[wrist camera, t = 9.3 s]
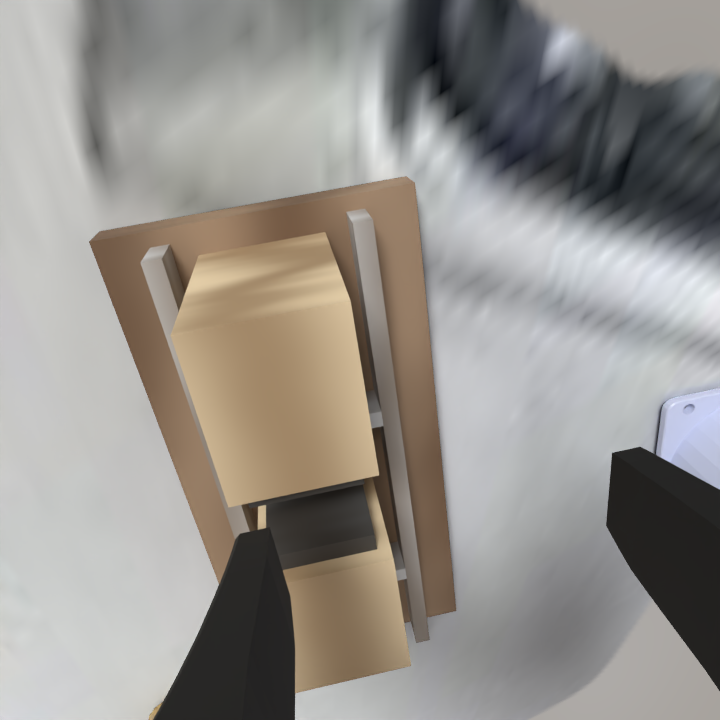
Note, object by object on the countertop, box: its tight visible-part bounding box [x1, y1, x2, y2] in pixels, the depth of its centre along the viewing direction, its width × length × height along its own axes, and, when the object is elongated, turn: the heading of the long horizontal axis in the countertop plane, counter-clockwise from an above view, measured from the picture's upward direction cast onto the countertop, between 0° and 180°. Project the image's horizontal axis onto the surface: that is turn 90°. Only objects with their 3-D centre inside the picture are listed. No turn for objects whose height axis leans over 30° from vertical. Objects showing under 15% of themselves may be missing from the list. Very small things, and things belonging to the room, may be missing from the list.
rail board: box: [89, 176, 456, 643], centre depth 20 cm, size 10×20×7 cm, turn 8°
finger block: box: [258, 477, 411, 693], centre depth 20 cm, size 4×6×6 cm
